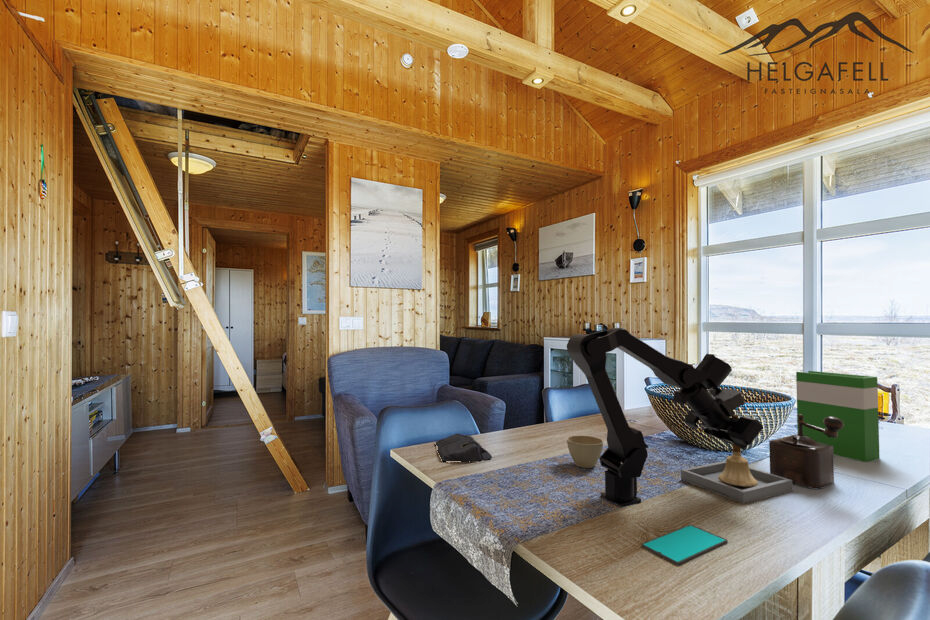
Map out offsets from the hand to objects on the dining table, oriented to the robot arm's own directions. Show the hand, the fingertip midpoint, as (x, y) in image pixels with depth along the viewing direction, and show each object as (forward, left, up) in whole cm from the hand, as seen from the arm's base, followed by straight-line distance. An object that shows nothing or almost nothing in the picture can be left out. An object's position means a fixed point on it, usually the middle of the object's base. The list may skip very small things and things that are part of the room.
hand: (740, 446), depth 106 cm
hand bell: (-1, 0, -8) cm, 9 cm away
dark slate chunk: (-52, +54, -10) cm, 76 cm away
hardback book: (+54, +6, -10) cm, 56 cm away
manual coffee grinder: (+18, -6, -10) cm, 22 cm away
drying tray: (-1, +1, -10) cm, 10 cm away
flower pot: (-25, +28, -10) cm, 39 cm away
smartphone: (-37, -14, -10) cm, 41 cm away
